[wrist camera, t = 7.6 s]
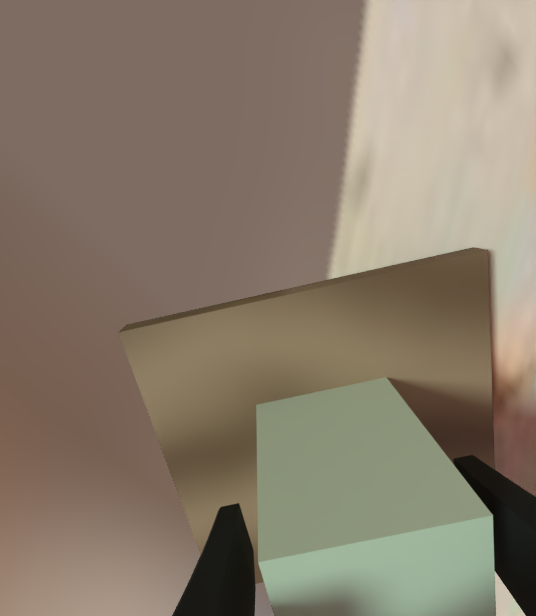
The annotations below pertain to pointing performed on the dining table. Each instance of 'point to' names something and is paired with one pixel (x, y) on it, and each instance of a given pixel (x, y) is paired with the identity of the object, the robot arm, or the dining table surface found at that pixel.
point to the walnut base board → (314, 369)
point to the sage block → (366, 511)
